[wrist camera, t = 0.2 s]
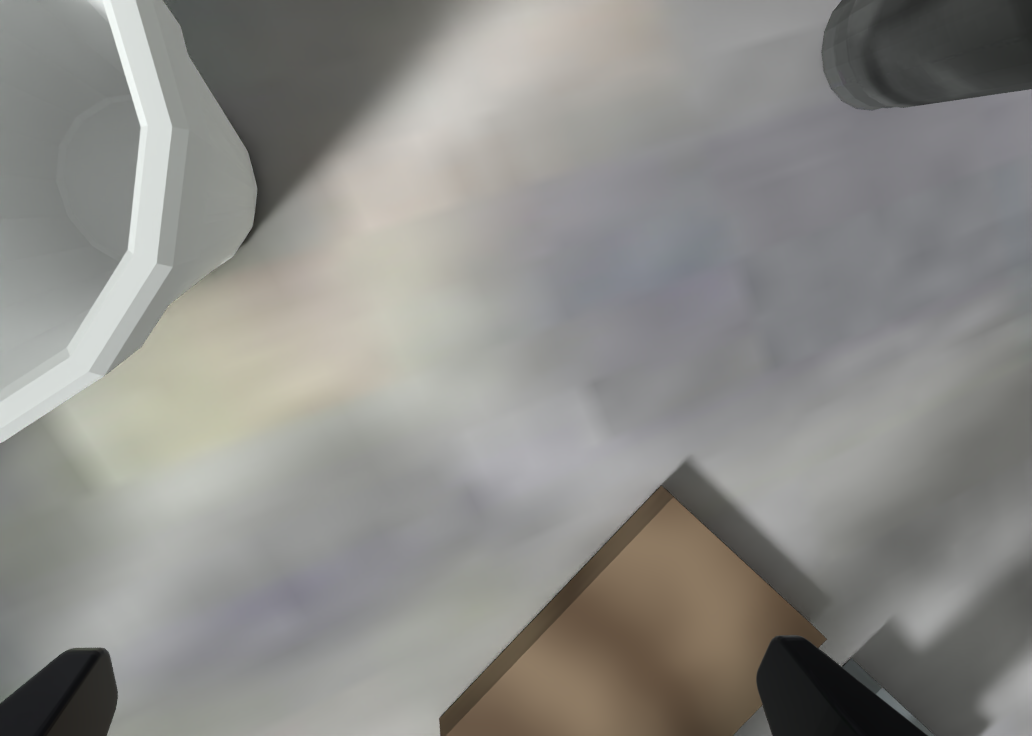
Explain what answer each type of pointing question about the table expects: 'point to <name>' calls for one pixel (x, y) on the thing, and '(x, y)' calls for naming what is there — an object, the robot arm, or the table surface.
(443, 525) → the table surface
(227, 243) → the cup
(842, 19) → the beverage cup
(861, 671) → the tray
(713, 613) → the pad
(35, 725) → the robot arm
